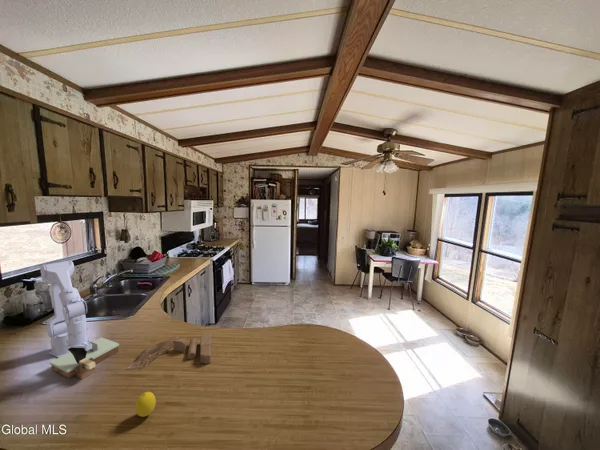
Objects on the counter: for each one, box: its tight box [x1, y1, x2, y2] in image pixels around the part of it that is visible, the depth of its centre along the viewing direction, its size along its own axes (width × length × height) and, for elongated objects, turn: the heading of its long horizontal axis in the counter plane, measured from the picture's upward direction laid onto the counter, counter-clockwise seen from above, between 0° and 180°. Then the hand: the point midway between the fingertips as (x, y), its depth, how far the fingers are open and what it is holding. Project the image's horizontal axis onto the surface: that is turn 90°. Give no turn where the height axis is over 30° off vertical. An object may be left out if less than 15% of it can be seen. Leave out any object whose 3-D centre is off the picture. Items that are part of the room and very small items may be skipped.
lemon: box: [135, 391, 157, 418], centre depth 76 cm, size 6×6×8 cm
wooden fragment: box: [126, 335, 179, 370], centre depth 109 cm, size 26×11×1 cm, turn 158°
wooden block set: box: [172, 333, 212, 365], centre depth 106 cm, size 17×6×18 cm
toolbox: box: [51, 346, 119, 380], centre depth 101 cm, size 18×18×6 cm
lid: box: [49, 336, 120, 373], centre depth 102 cm, size 14×19×4 cm
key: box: [79, 358, 97, 370], centre depth 93 cm, size 7×2×2 cm, turn 68°
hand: (81, 361), depth 95 cm, fingers closed
